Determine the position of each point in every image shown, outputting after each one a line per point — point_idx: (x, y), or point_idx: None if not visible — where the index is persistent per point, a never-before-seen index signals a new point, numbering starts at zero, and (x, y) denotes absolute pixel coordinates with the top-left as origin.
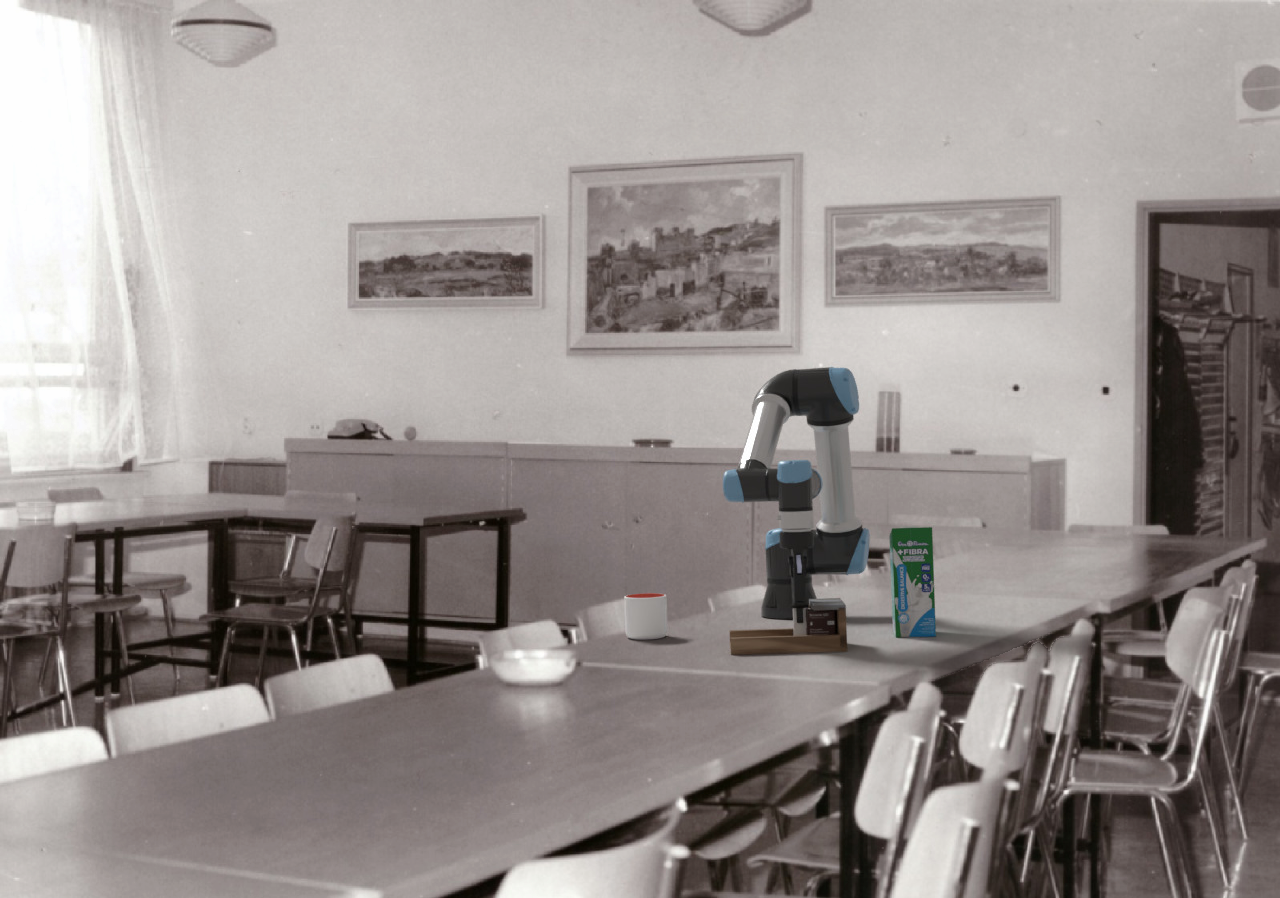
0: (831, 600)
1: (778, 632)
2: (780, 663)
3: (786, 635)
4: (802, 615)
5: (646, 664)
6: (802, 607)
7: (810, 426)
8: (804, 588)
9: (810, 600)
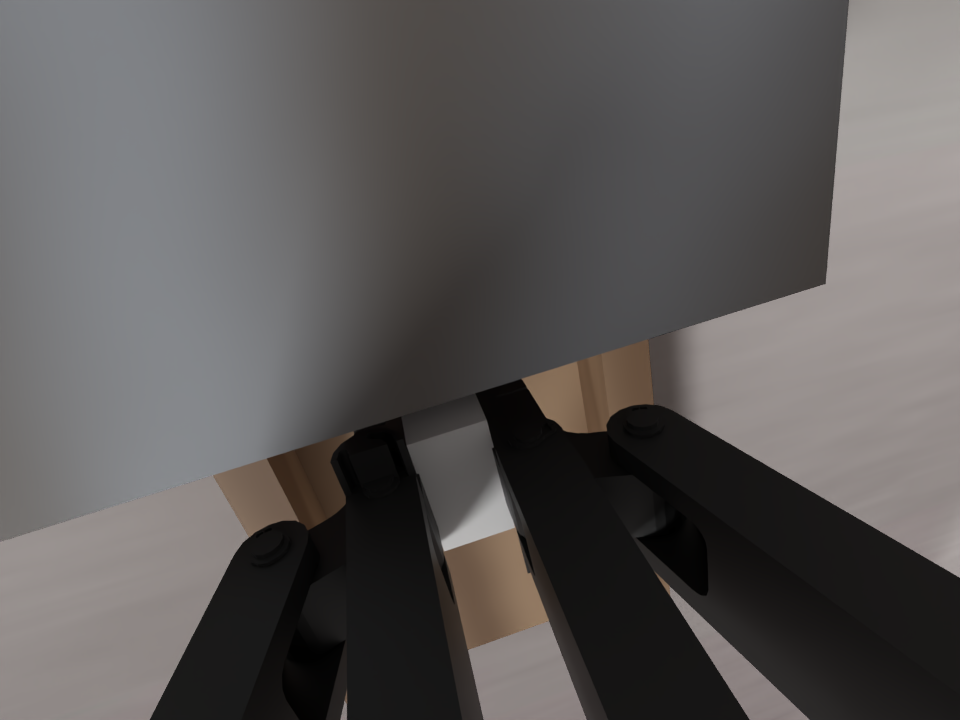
0: (112, 106)
1: (308, 524)
2: (915, 298)
3: (289, 467)
4: (530, 396)
5: (798, 709)
6: (572, 437)
7: None
8: (901, 556)
9: (196, 468)
